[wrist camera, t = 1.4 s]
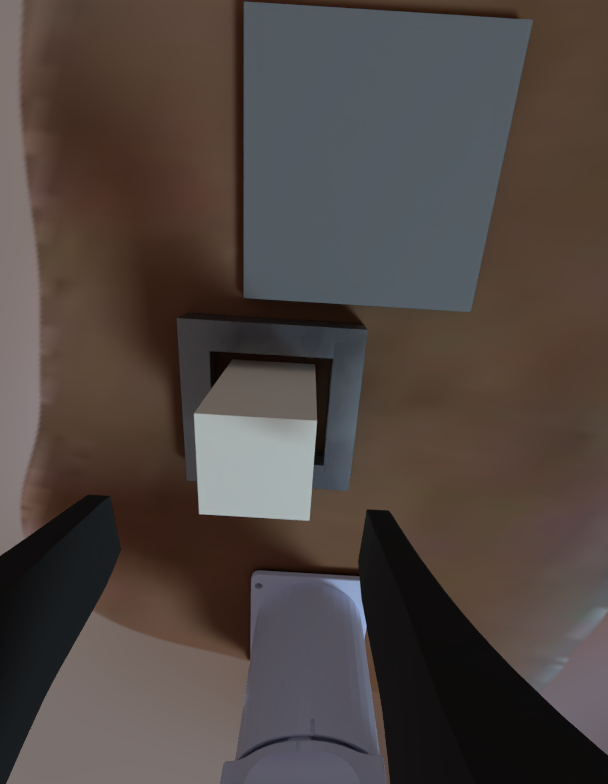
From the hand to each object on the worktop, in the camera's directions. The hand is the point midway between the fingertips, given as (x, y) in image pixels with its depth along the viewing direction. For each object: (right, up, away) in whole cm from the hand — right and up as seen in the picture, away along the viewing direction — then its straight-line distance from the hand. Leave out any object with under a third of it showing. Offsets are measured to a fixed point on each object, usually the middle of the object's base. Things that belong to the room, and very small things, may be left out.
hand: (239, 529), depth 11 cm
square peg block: (0, +3, +10) cm, 11 cm away
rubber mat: (+5, +13, +6) cm, 15 cm away
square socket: (0, +3, +10) cm, 11 cm away
